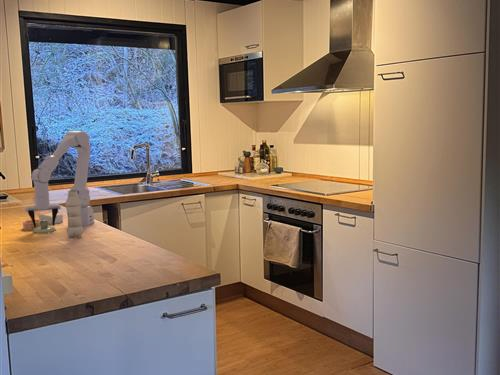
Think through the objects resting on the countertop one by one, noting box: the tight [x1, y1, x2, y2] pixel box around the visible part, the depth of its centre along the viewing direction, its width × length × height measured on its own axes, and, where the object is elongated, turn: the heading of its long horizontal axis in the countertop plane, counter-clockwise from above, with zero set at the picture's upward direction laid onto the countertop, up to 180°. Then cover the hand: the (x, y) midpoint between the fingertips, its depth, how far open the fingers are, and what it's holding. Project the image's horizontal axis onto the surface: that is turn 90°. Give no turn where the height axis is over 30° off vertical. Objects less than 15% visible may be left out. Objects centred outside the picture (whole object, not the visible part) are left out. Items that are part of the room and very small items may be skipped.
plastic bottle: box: [64, 190, 84, 238], centre depth 222 cm, size 6×7×20 cm
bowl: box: [22, 219, 41, 231], centre depth 241 cm, size 8×8×4 cm
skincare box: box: [38, 211, 64, 225], centre depth 254 cm, size 6×4×12 cm
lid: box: [33, 220, 56, 234], centre depth 234 cm, size 9×9×5 cm
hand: (44, 226), depth 234 cm, fingers open, 7 cm apart
